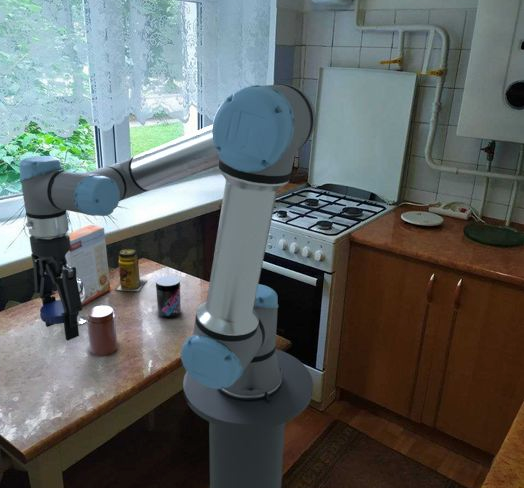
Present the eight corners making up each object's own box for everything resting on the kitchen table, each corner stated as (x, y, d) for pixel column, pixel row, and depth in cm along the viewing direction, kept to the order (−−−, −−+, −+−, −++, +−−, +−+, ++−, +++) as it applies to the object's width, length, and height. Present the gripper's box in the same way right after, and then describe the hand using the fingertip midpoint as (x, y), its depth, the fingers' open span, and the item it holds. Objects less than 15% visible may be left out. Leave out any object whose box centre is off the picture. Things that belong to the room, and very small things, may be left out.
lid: (34, 315, 107) (32, 308, 107) (67, 303, 113) (66, 296, 112) (52, 328, 103) (51, 320, 102) (86, 314, 108) (85, 307, 108)
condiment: (115, 290, 155) (112, 254, 151) (125, 279, 163) (122, 245, 159) (138, 291, 155) (136, 256, 150) (146, 280, 162) (144, 246, 158)
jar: (122, 347, 125) (119, 310, 121) (100, 358, 120) (96, 320, 116) (107, 338, 129) (104, 302, 125) (84, 348, 124) (80, 311, 120)
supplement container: (156, 319, 139) (155, 286, 135) (157, 308, 145) (156, 276, 141) (181, 318, 140) (180, 285, 136) (181, 307, 146) (180, 275, 142)
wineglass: (93, 319, 138) (88, 280, 134) (77, 328, 133) (73, 288, 129) (77, 314, 140) (72, 275, 136) (61, 323, 135) (56, 283, 131)
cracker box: (96, 286, 158) (90, 223, 150) (111, 290, 155) (105, 227, 147) (62, 303, 146) (53, 237, 138) (77, 308, 143) (69, 241, 136)
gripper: (7, 226, 104) (22, 321, 113) (58, 251, 92) (71, 355, 101) (41, 218, 110) (53, 309, 118) (94, 241, 98) (103, 341, 106)
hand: (62, 330), depth 109 cm, fingers closed on lid, 8 cm apart
